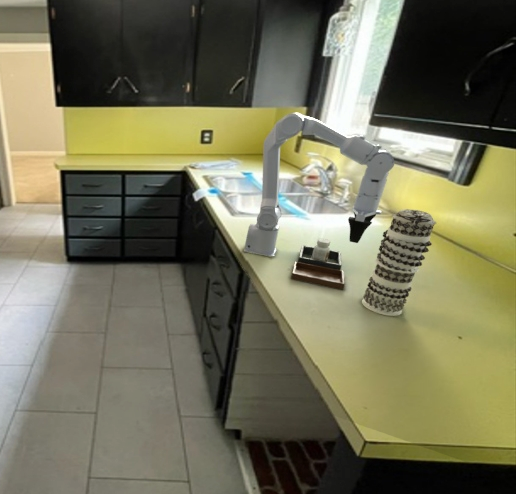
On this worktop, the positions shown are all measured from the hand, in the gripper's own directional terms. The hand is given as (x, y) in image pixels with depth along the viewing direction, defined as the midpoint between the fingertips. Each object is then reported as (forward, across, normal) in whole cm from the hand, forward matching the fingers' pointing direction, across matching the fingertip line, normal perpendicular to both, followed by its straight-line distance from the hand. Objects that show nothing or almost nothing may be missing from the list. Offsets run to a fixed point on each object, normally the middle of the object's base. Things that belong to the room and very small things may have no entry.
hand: (355, 238), depth 108 cm
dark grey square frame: (+10, -2, +8) cm, 13 cm away
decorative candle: (+10, -20, -11) cm, 25 cm away
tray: (+10, -14, +6) cm, 18 cm away
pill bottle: (+10, -2, +8) cm, 13 cm away
